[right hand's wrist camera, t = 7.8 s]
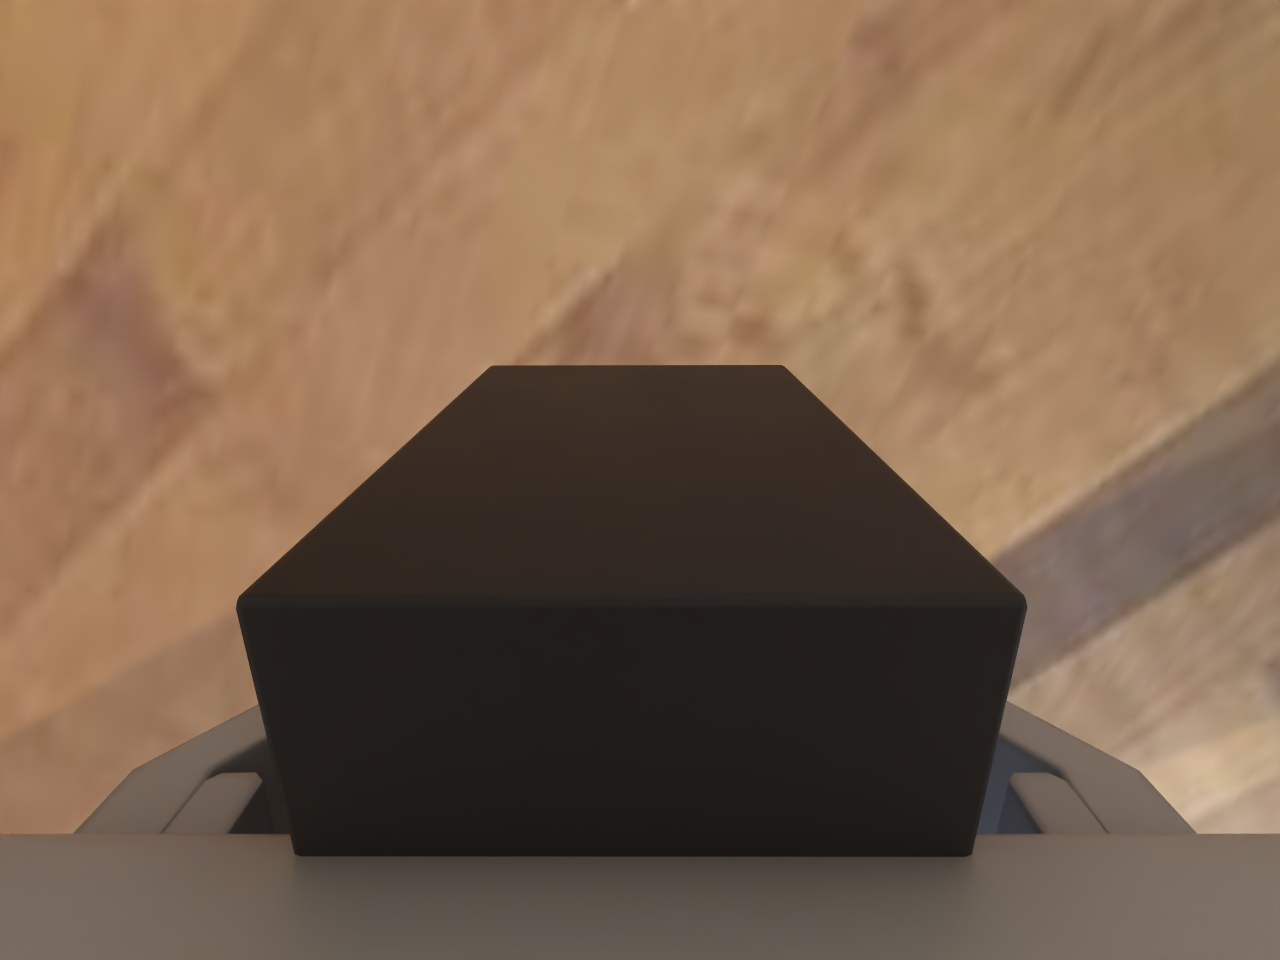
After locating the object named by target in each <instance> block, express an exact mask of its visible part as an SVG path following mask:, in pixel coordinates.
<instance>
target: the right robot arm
mask: <svg viewBox="0 0 1280 960" xmlns="http://www.w3.org/2000/svg"><path fill="white" fill-rule="evenodd" d="M0 960H1280V834H1197V833H1196V832H1195V831H1194V830H1193V829H1192V828H1191V827H1190V825H1189V824H1188V823H1187V822H1186V821H1185V820H1184V819H1183V818H1182V817H1181V816H1180V815H1179V813H1178V812H1177V811H1176V810H1175V809H1174V808H1173V807H1172V806H1171V805H1170V804H1169V803H1168V801H1167V800H1166V799H1165V798H1164V797H1163V796H1162V795H1161V794H1160V793H1159V792H1158V791H1157V790H1156V788H1155V787H1154V786H1153V785H1152V784H1151V783H1150V782H1149V781H1148V780H1147V779H1146V778H1145V776H1144V775H1143V774H1142V773H1141V772H1140V771H1139V770H1137V769H1135V768H1133V767H1131V766H1129V765H1127V764H1125V763H1123V762H1122V761H1120V760H1118V759H1116V758H1114V757H1112V756H1110V755H1108V754H1106V753H1105V752H1103V751H1101V750H1099V749H1097V748H1095V747H1093V746H1091V745H1089V744H1088V743H1086V742H1084V741H1082V740H1080V739H1078V738H1076V737H1074V736H1072V735H1070V734H1069V733H1067V732H1065V731H1063V730H1061V729H1059V728H1057V727H1055V726H1053V725H1052V724H1050V723H1048V722H1046V721H1044V720H1042V719H1040V718H1038V717H1036V716H1035V715H1033V714H1031V713H1029V712H1027V711H1025V710H1023V709H1021V708H1019V707H1017V706H1016V705H1014V704H1012V703H1010V702H1008V701H1006V704H1005V709H1004V713H1003V718H1002V722H1001V727H1000V731H999V736H998V740H997V744H996V749H995V753H994V758H993V762H992V767H991V771H990V776H989V780H988V785H987V789H986V794H985V798H984V803H983V807H982V812H981V816H980V820H979V825H978V829H977V834H976V838H975V843H974V847H973V852H972V855H969V856H967V857H381V856H298V855H296V854H294V850H293V846H292V842H291V837H290V833H289V829H288V825H287V821H286V816H285V812H284V808H283V804H282V800H281V795H280V791H279V787H278V783H277V778H276V774H275V770H274V766H273V762H272V757H271V753H270V749H269V745H268V741H267V736H266V732H265V728H264V724H263V720H262V715H261V711H260V707H259V704H258V705H257V706H255V707H253V708H251V709H249V710H247V711H245V712H243V713H241V714H239V715H237V716H235V717H234V718H232V719H230V720H228V721H226V722H224V723H222V724H220V725H218V726H216V727H214V728H212V729H211V730H209V731H207V732H205V733H203V734H201V735H199V736H197V737H195V738H193V739H191V740H189V741H188V742H186V743H184V744H182V745H180V746H178V747H176V748H174V749H172V750H170V751H168V752H166V753H164V754H163V755H161V756H159V757H157V758H155V759H153V760H151V761H149V762H147V763H145V764H143V765H141V766H140V767H138V768H136V769H134V770H133V771H132V772H131V773H130V774H129V775H128V776H127V777H126V778H125V779H124V780H123V781H122V782H121V783H120V784H119V785H118V786H117V788H116V789H115V790H114V791H113V792H112V793H111V794H110V795H109V796H108V797H107V798H106V799H105V800H104V801H103V802H102V803H101V805H100V806H99V807H98V808H97V809H96V810H95V811H94V812H93V813H92V814H91V815H90V816H89V817H88V818H87V819H86V820H85V821H84V823H83V824H82V825H81V826H80V827H79V828H78V829H77V830H76V831H75V832H74V833H73V834H0Z"/></svg>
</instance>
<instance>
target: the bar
mask: <svg viewBox="0 0 1280 960" xmlns="http://www.w3.org/2000/svg"><path fill="white" fill-rule="evenodd" d="M236 610H237V615H238V619H239V623H240V627H241V631H242V636H243V640H244V644H245V648H246V652H247V657H248V661H249V665H250V669H251V673H252V678H253V682H254V686H255V690H256V694H257V699H258V703H259V707H260V711H261V715H262V720H263V724H264V728H265V732H266V736H267V741H268V745H269V749H270V753H271V757H272V762H273V766H274V770H275V774H276V778H277V783H278V787H279V791H280V795H281V800H282V804H283V808H284V812H285V816H286V821H287V825H288V829H289V833H290V837H291V842H292V846H293V850H294V854H296V855H298V856H381V857H967V856H969V855H972V852H973V847H974V843H975V838H976V834H977V829H978V825H979V820H980V816H981V812H982V807H983V803H984V798H985V794H986V789H987V785H988V780H989V776H990V771H991V767H992V762H993V758H994V753H995V749H996V744H997V740H998V736H999V731H1000V727H1001V722H1002V718H1003V713H1004V709H1005V704H1006V700H1007V695H1008V691H1009V686H1010V682H1011V677H1012V673H1013V668H1014V664H1015V659H1016V655H1017V651H1018V646H1019V642H1020V637H1021V633H1022V628H1023V624H1024V619H1025V615H1026V610H1027V604H1026V599H1025V597H1024V595H1023V594H1022V593H1021V592H1020V591H1019V590H1018V589H1017V588H1016V587H1015V586H1014V585H1013V584H1012V583H1011V582H1010V581H1009V580H1007V579H1006V578H1005V577H1004V576H1003V575H1002V574H1001V573H1000V572H999V571H998V570H997V569H996V568H995V567H994V566H993V565H992V564H991V563H990V562H989V561H988V560H987V559H985V558H984V557H983V556H982V555H981V554H980V553H979V552H978V551H977V550H976V549H975V548H974V547H973V546H972V545H971V544H970V543H969V542H968V541H967V540H966V539H965V538H964V537H962V536H961V535H960V534H959V533H958V532H957V531H956V530H955V529H954V528H953V527H952V526H951V525H950V524H949V523H948V522H947V521H946V520H945V519H944V518H943V517H942V516H940V515H939V514H938V513H937V512H936V511H935V510H934V509H933V508H932V507H931V506H930V505H929V504H928V503H927V502H926V501H925V500H924V499H923V498H922V497H921V496H920V495H918V494H917V493H916V492H915V491H914V490H913V489H912V488H911V487H910V486H909V485H908V484H907V483H906V482H905V481H904V480H903V479H902V478H901V477H900V476H899V475H898V474H896V473H895V472H894V471H893V470H892V469H891V468H890V467H889V466H888V465H887V464H886V463H885V462H884V461H883V460H882V459H881V458H880V457H879V456H878V455H877V454H876V453H875V452H873V451H872V450H871V449H870V448H869V447H868V446H867V445H866V444H865V443H864V442H863V441H862V440H861V439H860V438H859V437H858V436H857V435H856V434H855V433H854V432H853V431H851V430H850V429H849V428H848V427H847V426H846V425H845V424H844V423H843V422H842V421H841V420H840V419H839V418H838V417H837V416H836V415H835V414H834V413H833V412H832V411H831V410H829V409H828V408H827V407H826V406H825V405H824V404H823V403H822V402H821V401H820V400H819V399H818V398H817V397H816V396H815V395H814V394H813V393H812V392H811V391H810V390H809V389H808V388H806V387H805V386H804V385H803V384H802V383H801V382H800V381H799V380H798V379H797V378H796V377H795V376H794V375H793V374H792V373H791V372H790V371H789V370H788V369H787V368H786V367H784V366H782V365H586V366H491V367H489V368H488V369H487V370H486V371H485V372H484V373H483V374H482V375H481V376H480V377H478V378H477V379H476V380H475V381H474V382H473V383H472V384H471V385H470V386H469V387H468V388H466V389H465V390H464V391H463V392H462V393H461V394H460V395H459V396H458V397H457V398H455V399H454V400H453V401H452V402H451V403H450V404H449V405H448V406H447V407H446V408H445V409H443V410H442V411H441V412H440V413H439V414H438V415H437V416H436V417H435V418H434V419H433V420H431V421H430V422H429V423H428V424H427V425H426V426H425V427H424V428H423V429H422V430H420V431H419V432H418V433H417V434H416V435H415V436H414V437H413V438H412V439H411V440H410V441H408V442H407V443H406V444H405V445H404V446H403V447H402V448H401V449H400V450H399V451H398V452H396V453H395V454H394V455H393V456H392V457H391V458H390V459H389V460H388V461H387V462H386V463H384V464H383V465H382V466H381V467H380V468H379V469H378V470H377V471H376V472H375V473H373V474H372V475H371V476H370V477H369V478H368V479H367V480H366V481H365V482H364V483H363V484H361V485H360V486H359V487H358V488H357V489H356V490H355V491H354V492H353V493H352V494H351V495H349V496H348V497H347V498H346V499H345V500H344V501H343V502H342V503H341V504H340V505H338V506H337V507H336V508H335V509H334V510H333V511H332V512H331V513H330V514H329V515H328V516H326V517H325V518H324V519H323V520H322V521H321V522H320V523H319V524H318V525H317V526H316V527H314V528H313V529H312V530H311V531H310V532H309V533H308V534H307V535H306V536H305V537H303V538H302V539H301V540H300V541H299V542H298V543H297V544H296V545H295V546H294V547H293V548H291V549H290V550H289V551H288V552H287V553H286V554H285V555H284V556H283V557H282V558H281V559H279V560H278V561H277V562H276V563H275V564H274V565H273V566H272V567H271V568H270V569H268V570H267V571H266V572H265V573H264V574H263V575H262V576H261V577H260V578H259V579H258V580H256V581H255V582H254V583H253V584H252V585H251V586H250V587H249V588H248V589H247V590H246V591H244V592H243V593H242V594H241V595H240V596H239V598H238V601H237V606H236Z"/></svg>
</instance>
